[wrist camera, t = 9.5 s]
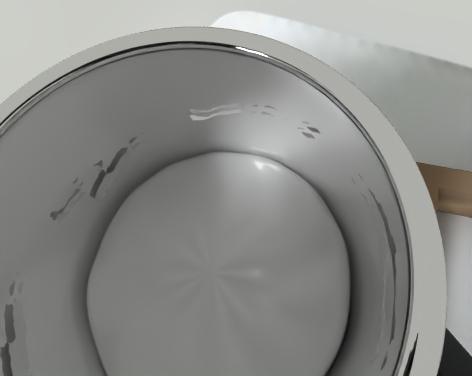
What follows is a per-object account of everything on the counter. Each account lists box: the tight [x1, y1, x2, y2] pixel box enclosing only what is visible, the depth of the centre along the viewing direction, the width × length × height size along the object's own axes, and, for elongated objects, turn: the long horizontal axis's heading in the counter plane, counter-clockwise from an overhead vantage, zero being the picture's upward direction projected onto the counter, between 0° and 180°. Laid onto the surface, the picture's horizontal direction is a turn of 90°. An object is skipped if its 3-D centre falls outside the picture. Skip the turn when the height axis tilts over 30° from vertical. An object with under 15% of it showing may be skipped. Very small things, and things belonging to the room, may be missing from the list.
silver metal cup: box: [0, 27, 447, 376], centre depth 11 cm, size 7×7×15 cm
